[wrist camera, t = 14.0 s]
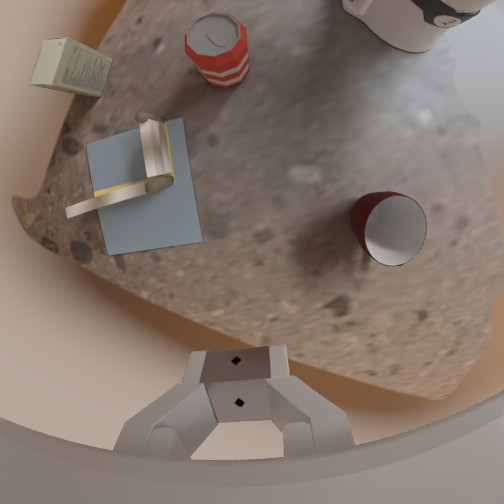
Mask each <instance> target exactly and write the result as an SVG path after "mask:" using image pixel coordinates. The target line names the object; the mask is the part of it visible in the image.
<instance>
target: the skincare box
mask: <svg viewBox="0 0 504 504" xmlns="http://www.w3.org/2000/svg"><path fill="white" fill-rule="evenodd" d="M111 63H112V59H111V58H109V57H107V56H105V55H103V54H102V53H99V52H97V51H95V50H93V49H91V48H89V47H87V46H85V45H83V44H81V43H79V42H77V41H74V40H72V39H70V38H68V37H65V38H51V39H45V40H44V42H43V44H42V46H41V49H40V52H39V55H38V57H37V60H36V64H35V67H34V70H33V73H32V77H31V81H30V85H31V86H37V87H43V88H49V89H54V90H60V91H65V92H69V93H74V94H79V95H86V96H94V97H100V96H101V94H102V91H103V88H104V85H105V82H106V78H107V75H108V72H109V69H110V66H111Z"/></svg>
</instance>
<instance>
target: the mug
mask: <svg viewBox="0 0 504 504" xmlns="http://www.w3.org/2000/svg"><path fill="white" fill-rule="evenodd" d="M351 225H352V228H353V231H354V233H355V235H356V237H357V239H358V241H359V243H360V245H361V246H362V248H363V249H364V250H365V251H366V252H367V253H368V254H369V255H370V256H371V257H372V258H373V259H374V260H375V261H377V262H379V263H380V264H383V265H386V266H401V265H403V264H404V263H406V262H408V261H409V260H411V259H412V258H413V257H414V256H415V255H416V254H417V253H418V252H419V250H420V249H421V247H422V245H423V243H424V240H425V236H426V230H427V225H426V218H425V215H424V212H423V210H422V208H421V207H420V205H419V204H418V203H417V202H416V201H415V200H413V199H412V198H410V197H408V196H405V195H403V194H400V193H396V192H375V193H369V194H366V195H364V196H362V197H361V198H360V199H358V201H357V202H356V203H355V205H354V206H353V209H352V212H351Z"/></svg>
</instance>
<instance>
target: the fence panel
mask: <svg viewBox="0 0 504 504" xmlns="http://www.w3.org/2000/svg"><path fill="white" fill-rule="evenodd" d="M146 183H147V182H145V181H144V182H141V183H138V184H134V185H131V186H128V187H125V188H121V189H118V190H115V191H112V192H109V193H106V194H103V195H100V196H97V197H94V198H91V199H89V200H86V201H83V202H80V203H77V204H75V205H72V206H69V207H67V208H65V211H66V214H67V218H70V217H73V216H76V215H79V214H82V213H85V212H88V211H91V210H94V209H97V208H100V207H103V206H107V205H110V204H113V203H116V202H120V201H123V200H126V199H130V198H133V197H136V196H140V195H143V194H147V193H148V192H149V191H148V190H147V189H146Z"/></svg>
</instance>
